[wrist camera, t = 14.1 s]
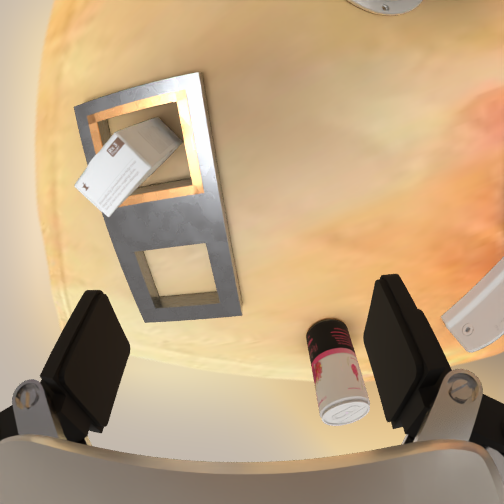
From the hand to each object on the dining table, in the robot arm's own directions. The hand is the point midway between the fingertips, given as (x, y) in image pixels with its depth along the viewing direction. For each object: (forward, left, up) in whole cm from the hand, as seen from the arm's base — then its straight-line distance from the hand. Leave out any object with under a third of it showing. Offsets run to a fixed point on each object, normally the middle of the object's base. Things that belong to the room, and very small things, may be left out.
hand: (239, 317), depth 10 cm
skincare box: (-2, -10, -26) cm, 28 cm away
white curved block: (+28, +38, -26) cm, 54 cm away
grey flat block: (+6, -10, -26) cm, 28 cm away
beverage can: (+29, +9, -26) cm, 40 cm away
